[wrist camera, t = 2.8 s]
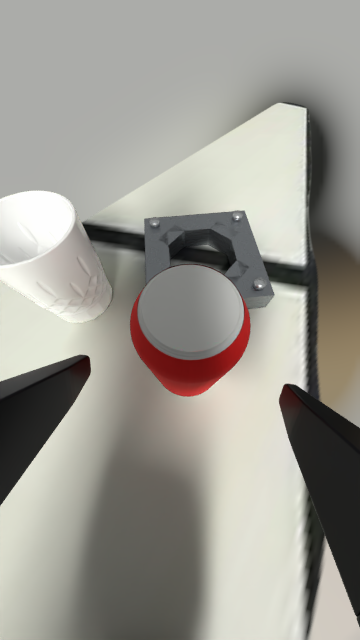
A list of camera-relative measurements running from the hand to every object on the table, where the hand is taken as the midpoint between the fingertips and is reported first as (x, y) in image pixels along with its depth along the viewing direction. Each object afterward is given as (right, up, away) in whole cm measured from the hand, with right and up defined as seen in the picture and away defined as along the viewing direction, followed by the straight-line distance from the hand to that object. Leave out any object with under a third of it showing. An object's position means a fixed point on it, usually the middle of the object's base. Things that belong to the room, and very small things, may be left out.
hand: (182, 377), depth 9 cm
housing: (+2, +9, +16) cm, 18 cm away
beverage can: (+1, -2, +11) cm, 11 cm away
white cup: (-11, +5, +14) cm, 19 cm away
